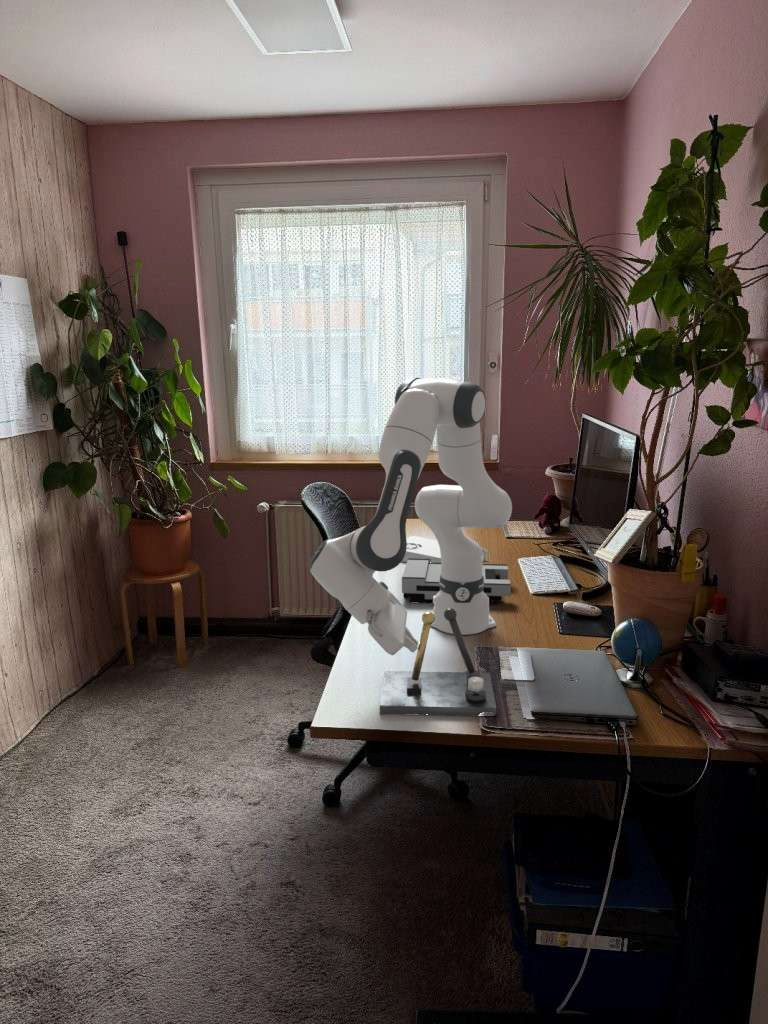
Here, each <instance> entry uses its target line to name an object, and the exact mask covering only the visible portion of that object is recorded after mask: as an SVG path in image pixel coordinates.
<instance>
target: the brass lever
mask: <svg viewBox="0 0 768 1024" xmlns="http://www.w3.org/2000/svg"><path fill="white" fill-rule="evenodd" d="M421 621H422V628H421V633H420V637H419V641H418V649H417V650H416V651H417V652H416V656H415V661H414V664H413V665H414V666H413V669H412V672H413V674H412V679H413V680H415V681H418V680H419V676H420V672H422V667H423V663H424V658H425V654H426V653H425V652H426V648H427V644H428V639H429V636H430V635H429V634H430V632H431V631H430V630H431V624H433V623H434V621H435V616H434V614H433V613H432V611H425V612H424V613H423V614H422V616H421Z"/></svg>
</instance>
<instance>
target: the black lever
mask: <svg viewBox="0 0 768 1024" xmlns="http://www.w3.org/2000/svg"><path fill="white" fill-rule="evenodd" d="M456 616H457V613H456V611H455V610H454V609H453V608H447V609H446V610H445V611H444V617H445V619H446V620H448V621H449V623H450V626H451V628H452V631H453V634H452V635H453V636H454V638H455V641H456V645H457V646H458V649H459V652H460V654H461V657H462V659H463V660H462V661H463V662H464V664H465V668H466V671H468V673H469V674H472V673H474V672H475V671H476V669H475V667H474V663H473V661H472V658H471V656H470V653H469V650H468V647H467V645H466V643H465V640H464V637H463V635H462V634H461V631H460V629H459V626H458V623H457V621H456Z"/></svg>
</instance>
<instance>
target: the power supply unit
mask: <svg viewBox="0 0 768 1024" xmlns="http://www.w3.org/2000/svg"><path fill="white" fill-rule="evenodd" d="M406 540H407V548H406V553H405V556H404V558H403V560H402V561H401V563H405V562H407V560H408V558H413V559H429V563H430V562H431V563H441V553H440V547H439V543H438V541H437V539H433V538H432V539H431V538H426V537H422V536H421V537H420V536H416V535H410V536H408V537H406ZM481 549H482V552H483V562H488V561H487V560H488V555H487V554H488V549H485V548H481Z"/></svg>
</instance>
